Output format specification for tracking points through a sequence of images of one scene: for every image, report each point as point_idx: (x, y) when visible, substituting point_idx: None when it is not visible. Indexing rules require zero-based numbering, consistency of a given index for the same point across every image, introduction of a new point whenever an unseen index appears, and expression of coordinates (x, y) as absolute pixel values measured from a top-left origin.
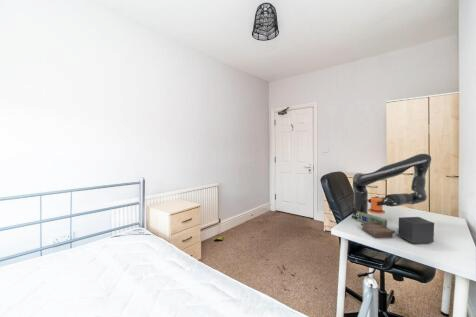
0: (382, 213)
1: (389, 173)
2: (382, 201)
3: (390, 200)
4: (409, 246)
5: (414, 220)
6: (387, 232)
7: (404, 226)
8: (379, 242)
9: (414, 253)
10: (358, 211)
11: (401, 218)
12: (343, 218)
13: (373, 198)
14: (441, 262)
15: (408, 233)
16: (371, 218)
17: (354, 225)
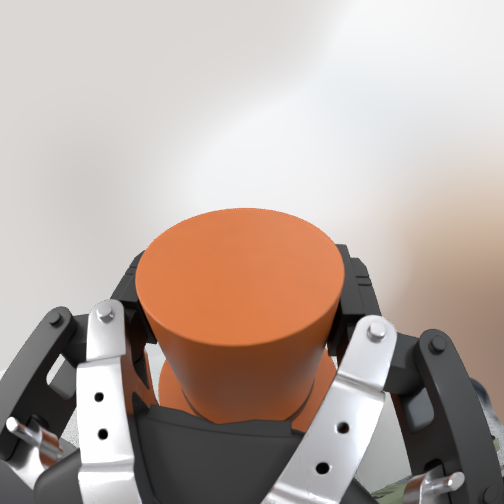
0: (162, 370)
1: None
2: (127, 293)
3: (59, 479)
4: (75, 420)
5: (3, 473)
6: None
7: (66, 451)
8: (162, 355)
9: (52, 373)
10: (495, 446)
11: (59, 460)
12: (482, 397)
13: (279, 236)
14: (4, 373)
15: (62, 443)
16: (385, 495)
17: (388, 402)
